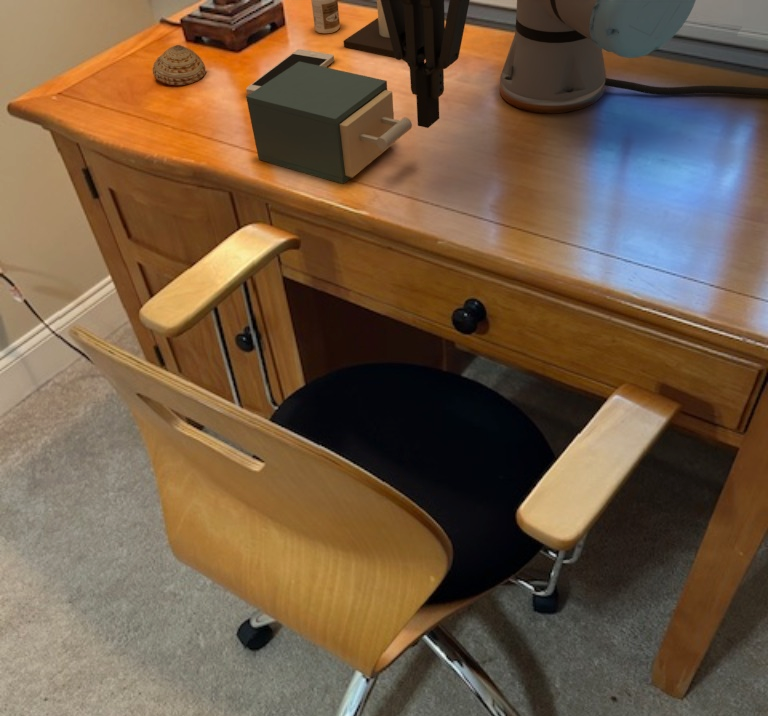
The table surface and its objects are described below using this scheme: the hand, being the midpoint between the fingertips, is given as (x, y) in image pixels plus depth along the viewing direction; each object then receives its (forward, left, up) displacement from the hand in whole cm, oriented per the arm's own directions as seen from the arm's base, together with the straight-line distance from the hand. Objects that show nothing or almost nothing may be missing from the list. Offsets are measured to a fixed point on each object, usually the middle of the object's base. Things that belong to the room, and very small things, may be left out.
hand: (428, 121), depth 98 cm
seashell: (+54, -10, -8) cm, 55 cm away
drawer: (+13, 0, -7) cm, 15 cm away
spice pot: (+29, -36, -7) cm, 46 cm away
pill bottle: (+42, -35, -8) cm, 55 cm away
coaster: (+29, -36, -8) cm, 46 cm away
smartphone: (+36, -17, -8) cm, 40 cm away
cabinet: (+17, 0, -8) cm, 19 cm away
